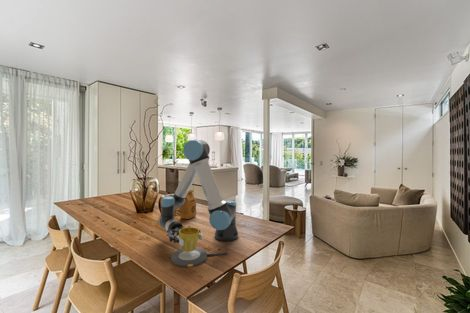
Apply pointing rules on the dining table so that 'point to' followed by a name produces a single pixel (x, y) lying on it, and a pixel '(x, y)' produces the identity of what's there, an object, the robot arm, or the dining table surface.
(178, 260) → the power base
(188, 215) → the coffee package
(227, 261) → the dining table surface
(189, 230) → the plant pot
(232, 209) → the robot arm
